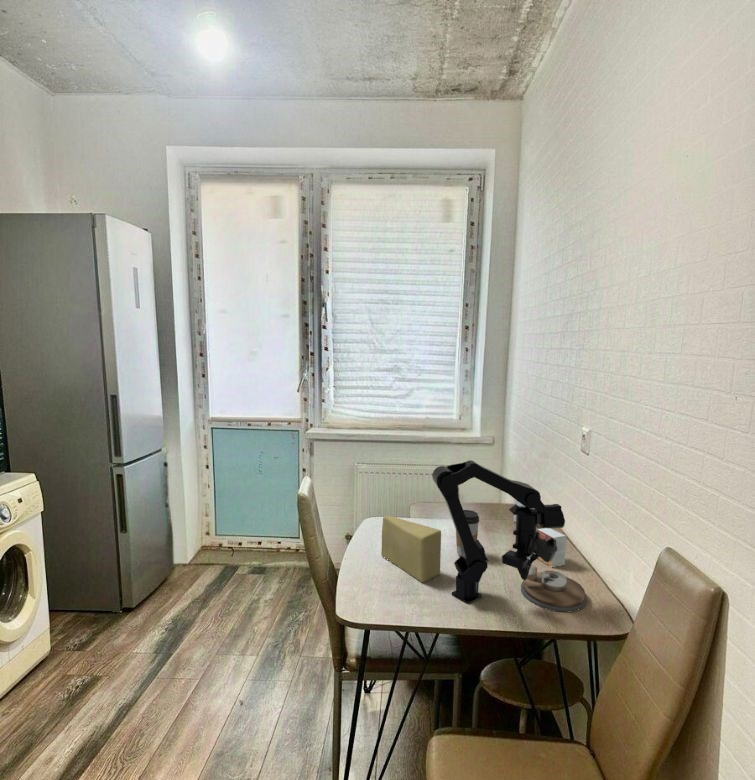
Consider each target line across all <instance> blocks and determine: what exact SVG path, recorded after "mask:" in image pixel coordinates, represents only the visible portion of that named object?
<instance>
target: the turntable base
mask: <svg viewBox="0 0 755 780" xmlns="http://www.w3.org/2000/svg"><path fill="white" fill-rule="evenodd" d="M520 591H521V592H520V593H521V595H523V597H524V598H525V599H526V600H527V601H528V602H530V603H532V604H533V603H534V605H535V606H537V605H538V606H537V607H539V606H540V608H542V607H543V608H542V609H545V608H547V609H546V610H548V609H551V610H550V611H552V610H555V611H554V612H558V611H563V612H562V613H568V612H567V611H574V612H576V611H575V610H578V609H581V608H582V609H584V608H585V607H584V606H587V595H586V594H585V599H584V601H583V603H581V604H580V605H578V606H574V607H557V606H551V605H547V604H544V603H541V602H539V601H537V600H535V599H533V598H532V597H530V596H529V595H528V594H527V593H526V592H525V591H524V589H523V581H522V582H521V583H520ZM583 607H584V608H583ZM582 609H581V610H582ZM578 611H579V610H578Z"/></svg>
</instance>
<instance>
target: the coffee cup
mask: <svg viewBox="0 0 755 780" xmlns="http://www.w3.org/2000/svg"><path fill="white" fill-rule="evenodd" d="M463 511H464V514H465V517H466V519H467V522H468V525H469V527H470V530H471V533H472V536H473V538H474V541H476V540H478V536H479V522H480V516H479V515H478V514H479V512H477V511H474V510H471V509H463ZM455 537H456V538H455V540H456V553H457V555H458V557H460V556H462V554H461V547H460V539H459V536H458V534H457V531H456V530H455Z"/></svg>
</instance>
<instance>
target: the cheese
mask: <svg viewBox="0 0 755 780" xmlns="http://www.w3.org/2000/svg"><path fill="white" fill-rule="evenodd" d="M381 525H382V526H381V557H382V556H383V557H385V558H386V559H385V558H384V559H385V560H387V559H388V560H389V561H388V560H387V561H388V562H390V561H391V562H392V564H393V563H394V564H393V565H395V564H396V565H397V566H396V565H395V566H396V567H398V566H399V567H398V568H400V569H402V570H403V571H405V572H406V573H408V574H409V575H410V576H412V577H413V578H414V579H416V580H417V581H419V582H420V583H425V582H427V581H429V580H431V579H433V578H434V577H436V576H438V575H439V574H440V572H441V555H442V554H441V550H442V531H441V530H440V529H437V528H434V527H430V526H427V525H425V524H424V525H423V524H420V523H418V522H417V523H416V522H413V521H409V520H405V519H403V518H399V517H396V516H393V515H384V516H383V518H382V524H381ZM383 557H382V558H383ZM391 562H390V563H391Z"/></svg>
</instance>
